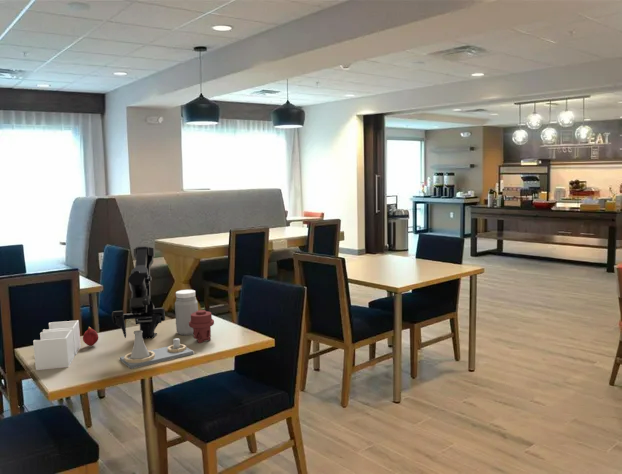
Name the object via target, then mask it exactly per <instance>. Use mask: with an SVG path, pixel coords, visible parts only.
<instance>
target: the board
mask: <svg viewBox="0 0 622 474" xmlns="http://www.w3.org/2000/svg"><path fill="white" fill-rule="evenodd" d="M172 340H173V341H172V343H173V344H171V345H167V346H162V347H159V348H155V349H151V350H150V349H149V350H148V352H149V354H150V357H147V358H143V359H130V356H131V353H132V351H130V352H129V353H127V354H125V355H123V356H122V355H121V356H119V361H120V362H122V363H123V364H124V365H125V366H127V367H128V368H129V369H131V370H132V369H136V368H140V367H144V366H148V365H153V364H157V363H161V362H165V361H166V362H167V361H170V360H175V359H179V358H182V357H187V356H190V355H194V350H192V349H190V348H189V347H187V345H185V344H181V343H180V342H181V340H180V338H173V339H172Z"/></svg>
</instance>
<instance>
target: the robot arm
mask: <svg viewBox="0 0 622 474" xmlns="http://www.w3.org/2000/svg"><path fill="white" fill-rule="evenodd" d="M132 251H133V258H134V259H135V265H134V268H133V269H131V272H130V275H129V276H128V279H127V283H128V285H129V290H130V291H131V298H129V312H130V313H124V310H115V311H112V313H111V320H112V323H113V325H116V327H120V329H121V331H122V334H123V336H124V339H126V338H127V327H126V323H125V322H126V320H134V322H135V325H139V330H142V331H143V333H142V337H143V340H144V339H154V338H155V337H156V336H157V335H158V333H157V332H155V330H156V328H157V327H158V326H159V324H162V322H164V321H166V314H165V308H164V307H156V308H155V305H154V303H153V301H152V300H151V282H152V279H153V278H152V276H151V269H150V268H151V267H152V265H153V264H154V258H156V256H155V255H156V254H155V253H156V251H155V248H154V247H152V246H147V245H143V246H141V245H140V246H136V247H135V248H133V250H132Z"/></svg>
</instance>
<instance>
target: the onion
mask: <svg viewBox="0 0 622 474" xmlns="http://www.w3.org/2000/svg"><path fill="white" fill-rule="evenodd" d="M98 340H99V334H98V332H97V331H96V330H95V329H93V328H92V327H90V326H88V328H87V330H86V331H84V333H83V335H82V341H83V342H84V344H85V345H86V346H88V347H93V346H94V345H95V344H97V342H98Z"/></svg>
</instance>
